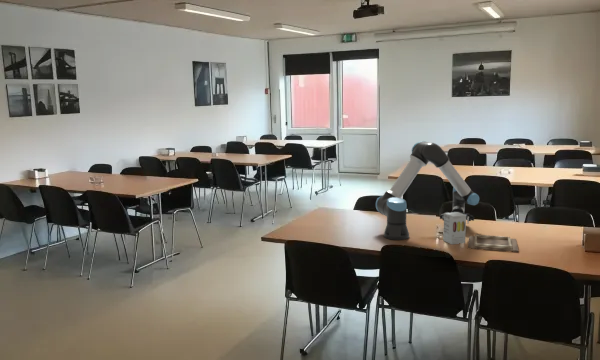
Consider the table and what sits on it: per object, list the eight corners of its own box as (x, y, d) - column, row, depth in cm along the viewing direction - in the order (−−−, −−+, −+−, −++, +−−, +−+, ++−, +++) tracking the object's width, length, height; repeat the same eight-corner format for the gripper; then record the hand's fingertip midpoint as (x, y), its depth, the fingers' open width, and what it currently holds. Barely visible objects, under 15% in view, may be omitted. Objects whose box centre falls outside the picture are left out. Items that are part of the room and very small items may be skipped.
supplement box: (451, 244, 292) (451, 216, 290) (442, 240, 301) (443, 212, 298) (465, 243, 295) (466, 214, 292) (456, 239, 304) (457, 211, 301)
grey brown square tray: (467, 248, 284) (467, 244, 284) (469, 237, 306) (469, 233, 306) (518, 252, 275) (518, 247, 275) (515, 240, 298) (516, 236, 297)
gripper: (478, 219, 323) (477, 227, 303) (437, 217, 331) (434, 225, 312) (478, 207, 322) (478, 215, 302) (437, 206, 330) (434, 213, 310)
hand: (456, 220), depth 307 cm, fingers open, 13 cm apart
